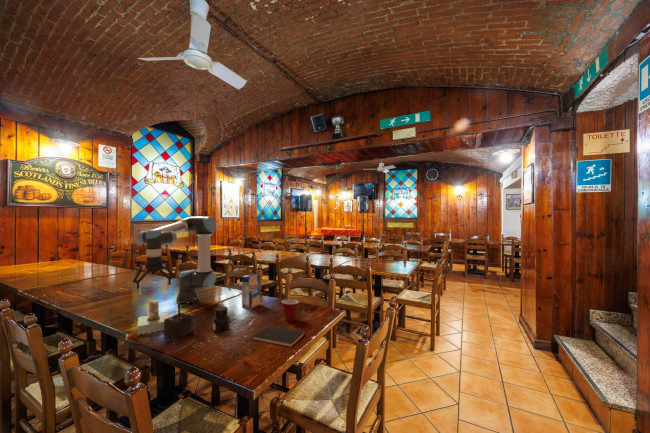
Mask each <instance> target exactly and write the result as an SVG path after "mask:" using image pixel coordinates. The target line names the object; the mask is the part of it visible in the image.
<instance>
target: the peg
mask: <svg viewBox="0 0 650 433" xmlns="http://www.w3.org/2000/svg"><path fill="white" fill-rule="evenodd" d="M159 304H160V302H159V300H150V301H149V302H148V316H149V320H150V321H155V320H158V319H159V314H160V311H159V310H160V307H159V306H160V305H159Z"/></svg>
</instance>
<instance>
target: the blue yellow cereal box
mask: <svg viewBox="0 0 650 433" xmlns="http://www.w3.org/2000/svg"><path fill="white" fill-rule="evenodd" d="M241 281H242V282H241V308H243V309H249V310H250V309H253V308H254V307H257V306H260V305H261V303H260V302H261V301H260V299H261V296H260V295H261V292H260V291H261V287H260V286H261V283H260V282H261V274H256V273H252V274H251V273H250V274H248V275H243V276H242V278H241Z"/></svg>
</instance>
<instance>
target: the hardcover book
mask: <svg viewBox="0 0 650 433" xmlns="http://www.w3.org/2000/svg"><path fill="white" fill-rule="evenodd" d="M304 335H306V332H305V331H304V330H303V331H302V330H297V329H292V328H285V327H280V326H275V325H267V326H265V327H264V328H263V329H261V330H260V331H258V332H257V333H255V334H254V335H252V338H253V340H255V341H261V342H266V343H270V344H275V345H281V346H286V347H290V348H292V346H294V344H296V343H297V342H298V341H299V340H300V339H301V338H303V336H304Z"/></svg>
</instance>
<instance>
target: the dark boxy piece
mask: <svg viewBox="0 0 650 433" xmlns="http://www.w3.org/2000/svg"><path fill="white" fill-rule="evenodd" d="M200 300H201V299H200V298H199V297H198V298H194V299H193V300H192V301H193V303H192V305H189V306H187V305H185V306H181V304H178V303H177V313H175V314H174V315H172V316H168V317H169V318H167V319H164V331H163V336H164V337H165V336H167V337H166V338H169V337H173V338H172V339H174V338H180V339H181V337H182V338H183V336H184V337H186V336H188V335H190V334H192V333H193V332H194V315H192V314H187V313H183V312H181V309H187V308H195V307H199V305H198V304H199V303H200ZM192 331H193V332H192ZM189 333H190V334H189ZM187 334H188V335H187ZM185 335H186V336H185Z"/></svg>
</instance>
